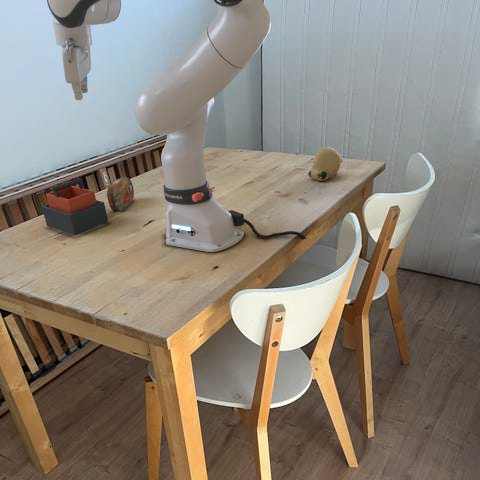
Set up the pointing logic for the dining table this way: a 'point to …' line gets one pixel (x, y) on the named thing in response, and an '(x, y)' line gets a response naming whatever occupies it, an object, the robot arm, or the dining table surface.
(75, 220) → the slate bin
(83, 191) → the terracotta bin
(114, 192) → the tin
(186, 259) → the dining table surface
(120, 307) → the dining table surface
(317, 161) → the beige plush toy
